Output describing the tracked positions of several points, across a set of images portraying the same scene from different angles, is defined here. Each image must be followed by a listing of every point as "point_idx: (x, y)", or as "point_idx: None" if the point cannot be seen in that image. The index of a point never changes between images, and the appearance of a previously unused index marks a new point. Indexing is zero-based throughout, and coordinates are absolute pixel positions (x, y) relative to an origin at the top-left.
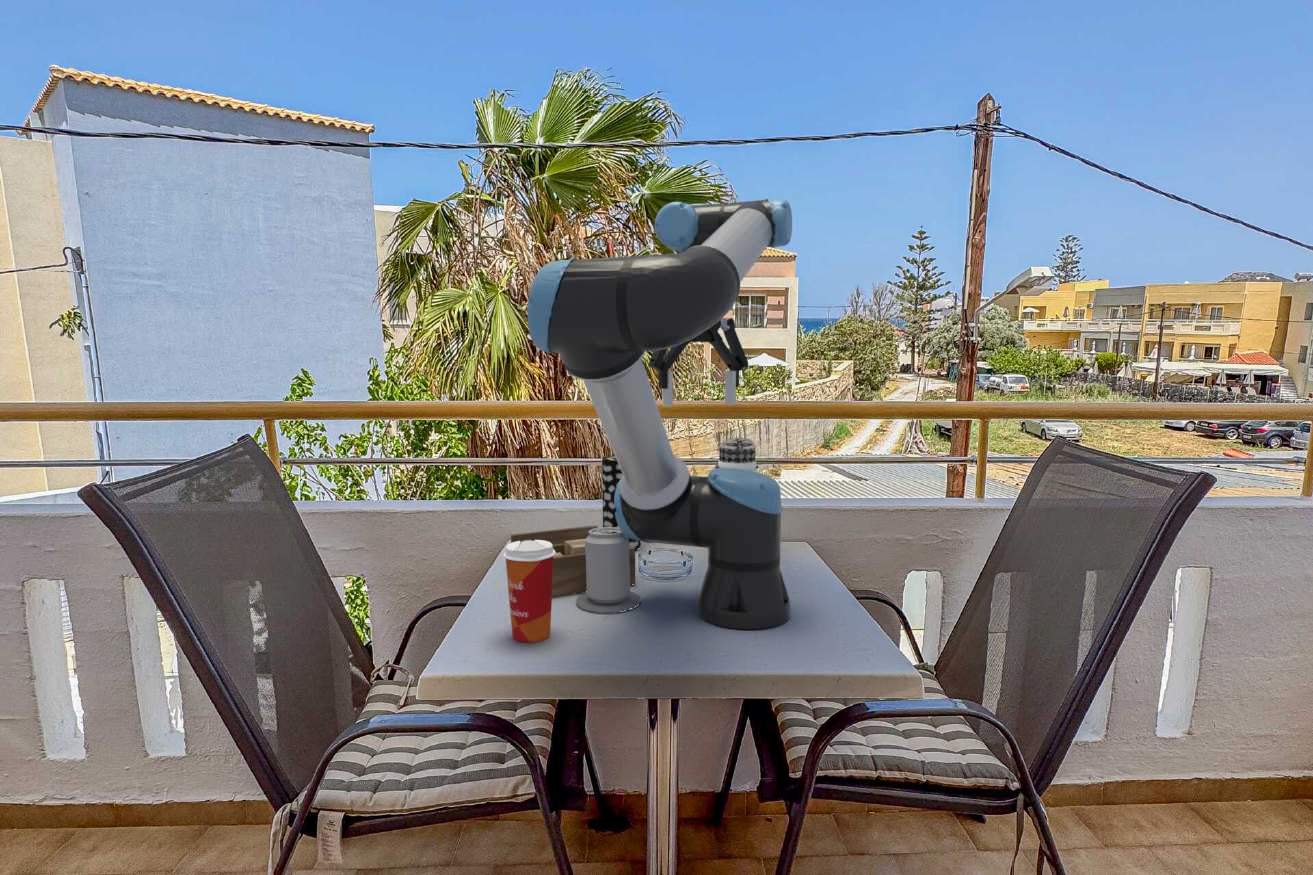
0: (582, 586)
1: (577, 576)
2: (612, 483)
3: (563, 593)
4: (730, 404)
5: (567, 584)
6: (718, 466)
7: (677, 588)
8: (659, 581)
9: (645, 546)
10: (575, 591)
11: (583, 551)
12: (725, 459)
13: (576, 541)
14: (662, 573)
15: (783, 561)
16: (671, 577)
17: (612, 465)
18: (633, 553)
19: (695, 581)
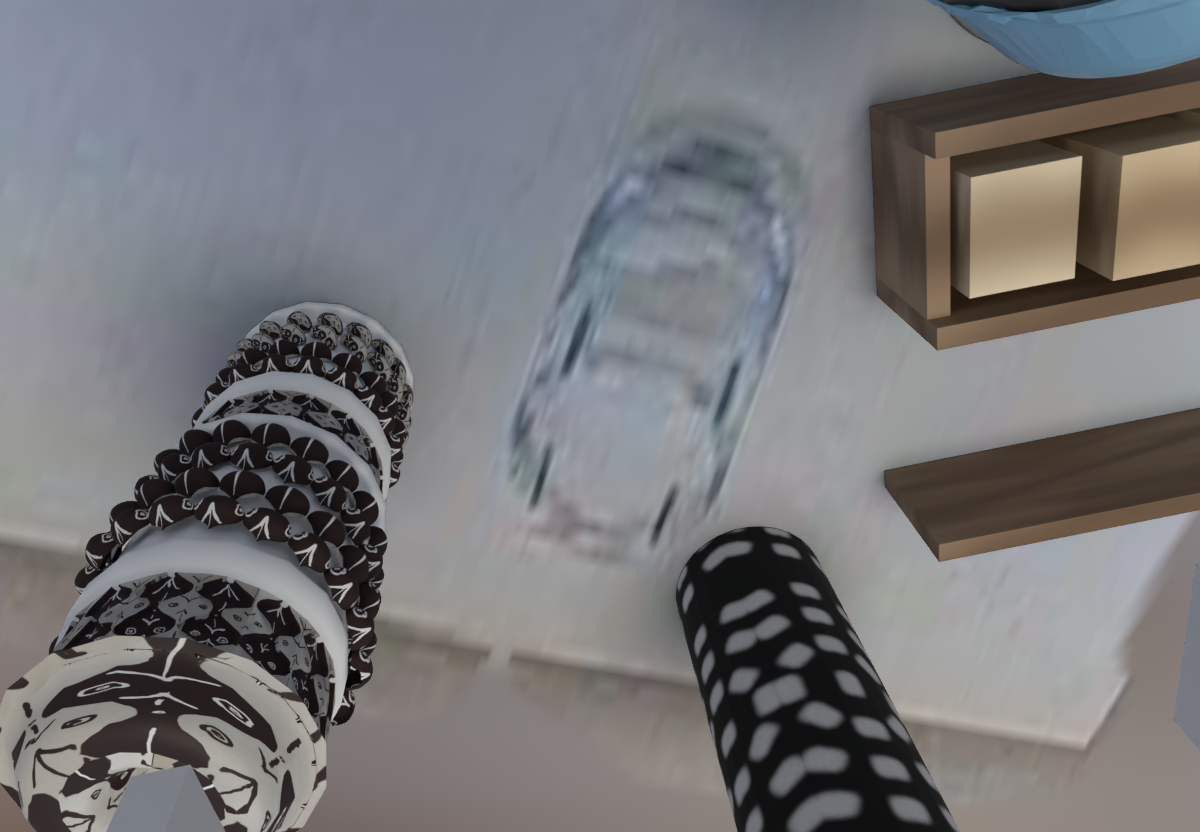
0: None
1: None
2: (907, 746)
3: None
4: (207, 803)
5: None
6: (346, 674)
7: (720, 10)
8: (758, 129)
9: (654, 590)
10: None
11: (1173, 138)
12: (306, 646)
13: (1176, 242)
14: (709, 233)
15: (124, 266)
16: (692, 169)
17: (947, 827)
18: (933, 127)
19: (613, 86)
